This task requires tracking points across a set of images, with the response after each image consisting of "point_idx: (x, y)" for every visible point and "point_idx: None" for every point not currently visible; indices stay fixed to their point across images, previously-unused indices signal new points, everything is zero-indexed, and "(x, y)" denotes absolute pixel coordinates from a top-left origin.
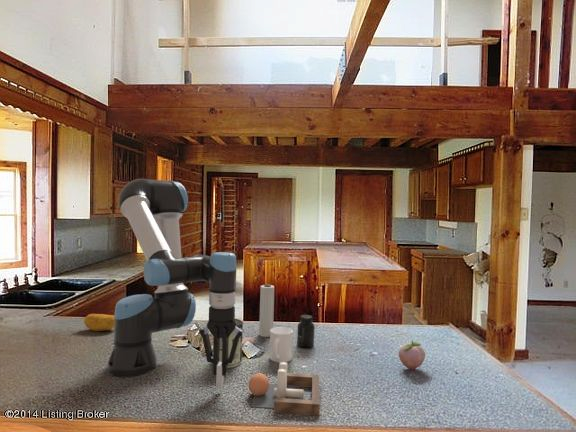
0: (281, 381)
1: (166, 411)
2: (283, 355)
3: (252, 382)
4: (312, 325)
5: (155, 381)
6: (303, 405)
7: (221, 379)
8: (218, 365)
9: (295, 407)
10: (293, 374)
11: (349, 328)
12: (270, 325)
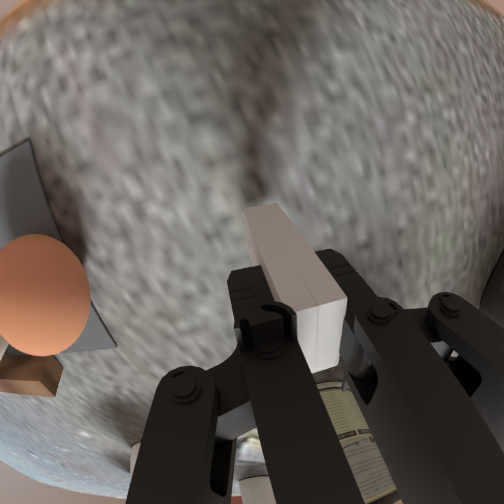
0: None
1: (412, 10)
2: None
3: (25, 269)
4: None
5: (487, 224)
6: None
7: (252, 235)
8: (328, 306)
9: None
10: (17, 388)
11: (126, 495)
12: (246, 500)
